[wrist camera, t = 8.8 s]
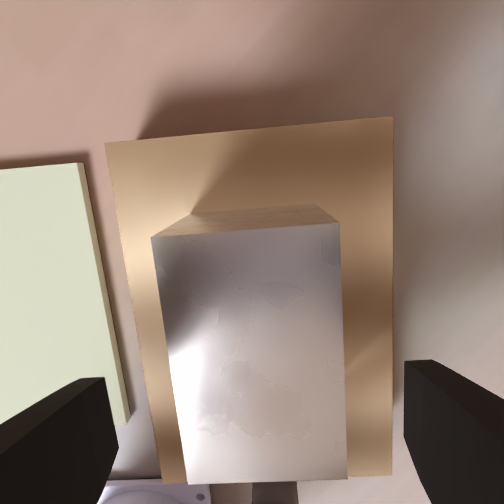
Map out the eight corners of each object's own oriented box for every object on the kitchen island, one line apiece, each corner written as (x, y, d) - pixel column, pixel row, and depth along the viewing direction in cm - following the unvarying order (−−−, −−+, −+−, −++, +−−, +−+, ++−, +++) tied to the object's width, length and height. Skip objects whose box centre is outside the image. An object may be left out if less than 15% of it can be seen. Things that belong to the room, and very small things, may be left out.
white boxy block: (323, 384, 16) (347, 479, 11) (211, 389, 16) (187, 484, 11) (315, 203, 14) (339, 222, 9) (190, 213, 14) (149, 237, 10)
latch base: (374, 437, 20) (444, 617, 12) (178, 445, 21) (122, 621, 13) (370, 124, 16) (469, 84, 8) (132, 147, 17) (11, 129, 9)
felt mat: (130, 417, 20) (126, 424, 20) (-37, 425, 21) (-46, 432, 20) (83, 162, 17) (76, 162, 17) (-113, 180, 18) (-126, 181, 17)
